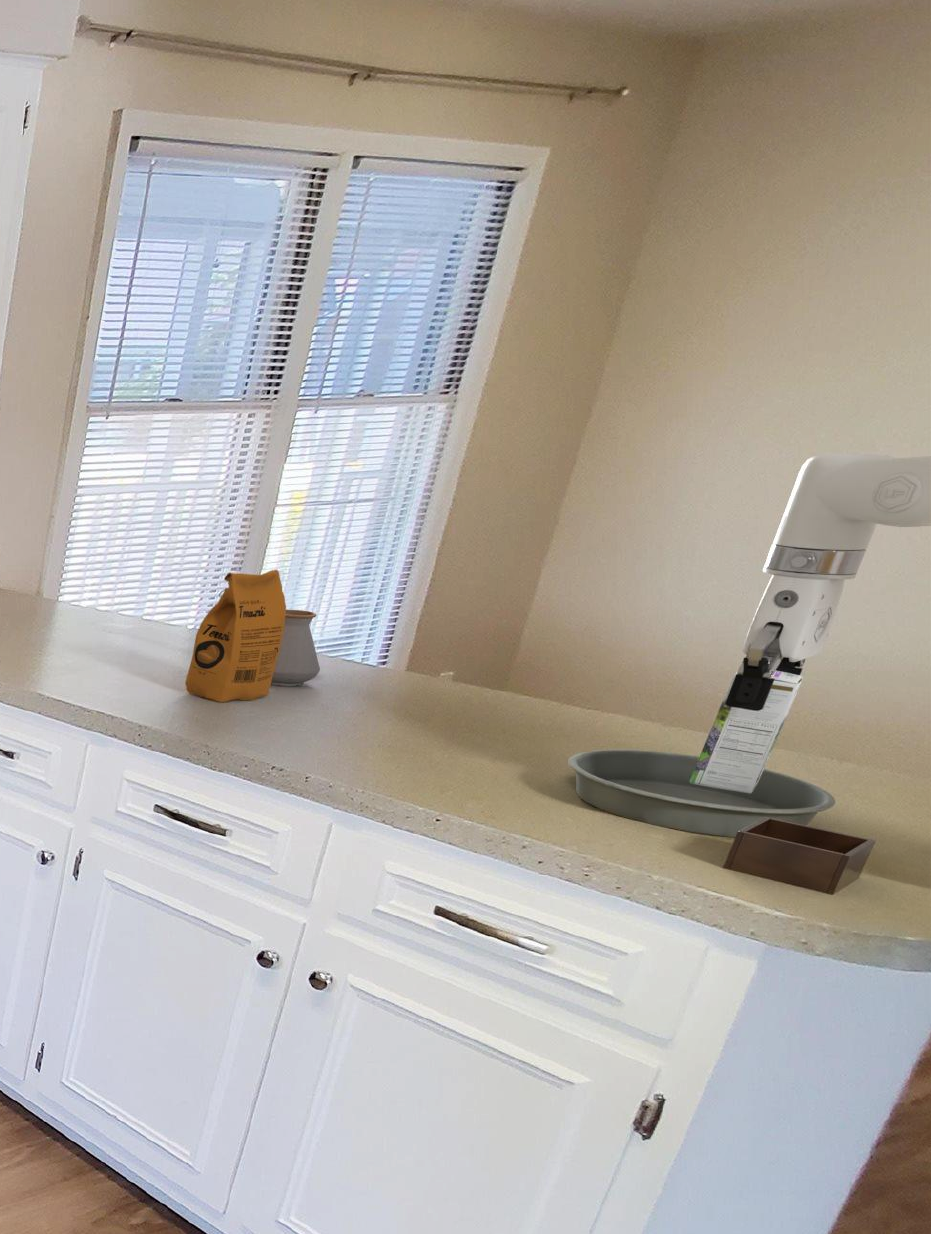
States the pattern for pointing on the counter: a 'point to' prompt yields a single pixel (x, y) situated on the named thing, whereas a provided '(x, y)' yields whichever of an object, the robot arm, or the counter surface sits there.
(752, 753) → the syrup box
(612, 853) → the counter surface
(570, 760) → the cake pan
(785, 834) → the caddy
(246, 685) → the coffee package
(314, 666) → the coffee pot
